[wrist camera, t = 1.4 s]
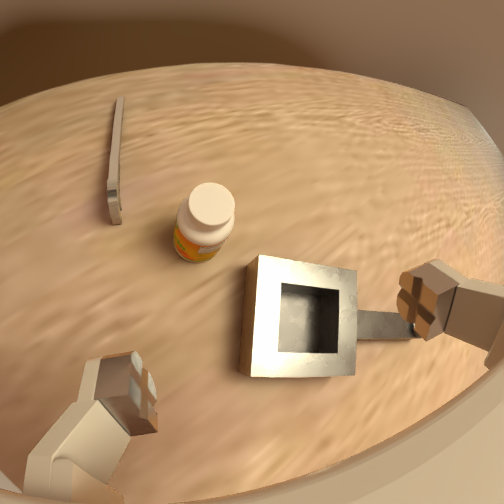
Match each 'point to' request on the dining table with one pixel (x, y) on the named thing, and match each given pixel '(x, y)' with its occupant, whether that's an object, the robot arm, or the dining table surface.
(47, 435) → the robot arm
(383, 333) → the ratchet holder
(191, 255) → the supplement bottle
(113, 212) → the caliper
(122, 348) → the dining table surface
